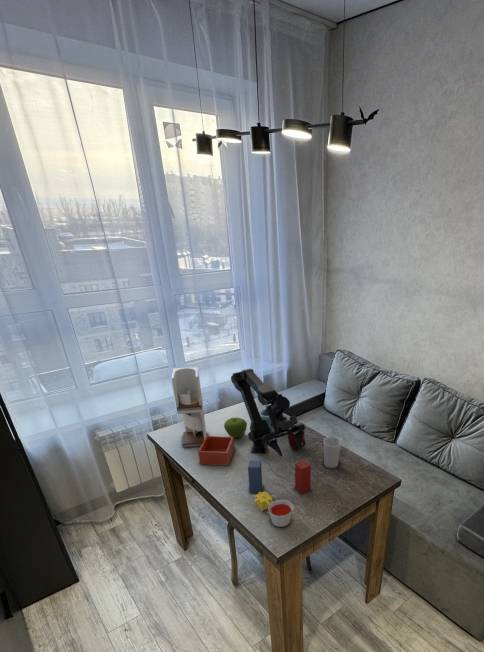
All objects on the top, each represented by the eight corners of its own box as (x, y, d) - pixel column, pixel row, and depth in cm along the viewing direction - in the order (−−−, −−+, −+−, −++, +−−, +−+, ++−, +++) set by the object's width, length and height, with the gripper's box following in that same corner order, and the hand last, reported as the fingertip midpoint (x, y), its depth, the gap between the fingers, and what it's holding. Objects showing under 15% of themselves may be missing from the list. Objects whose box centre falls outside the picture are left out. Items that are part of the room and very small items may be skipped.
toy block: (279, 508, 153) (278, 497, 150) (260, 515, 149) (259, 504, 146) (269, 496, 159) (269, 485, 156) (251, 503, 155) (250, 492, 152)
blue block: (251, 485, 164) (249, 460, 158) (262, 485, 164) (261, 461, 158) (249, 492, 160) (247, 467, 154) (260, 492, 160) (259, 467, 154)
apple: (250, 432, 201) (249, 415, 196) (242, 443, 192) (240, 425, 187) (230, 429, 203) (229, 412, 197) (221, 439, 194) (219, 422, 189)
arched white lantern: (184, 435, 196) (173, 368, 178) (206, 433, 198) (197, 367, 181) (183, 447, 186) (171, 378, 169) (206, 445, 189) (197, 376, 171)
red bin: (207, 447, 187) (206, 435, 184) (234, 448, 188) (233, 436, 184) (199, 464, 176) (198, 451, 172) (228, 465, 176) (227, 452, 173)
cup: (338, 470, 176) (339, 447, 170) (320, 467, 177) (321, 444, 171) (341, 460, 183) (342, 438, 177) (324, 457, 184) (325, 435, 178)
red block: (295, 488, 164) (295, 463, 158) (304, 484, 166) (304, 459, 160) (301, 494, 161) (301, 468, 154) (310, 490, 163) (310, 465, 157)
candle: (283, 532, 142) (283, 519, 139) (263, 522, 146) (263, 509, 143) (297, 518, 148) (298, 505, 145) (278, 509, 152) (278, 496, 149)
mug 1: (285, 436, 199) (285, 418, 194) (264, 440, 195) (263, 422, 190) (275, 422, 211) (274, 406, 205) (255, 426, 206) (254, 409, 201)
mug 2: (311, 449, 190) (312, 431, 185) (300, 455, 185) (300, 437, 180) (295, 441, 196) (295, 423, 190) (283, 447, 190) (283, 429, 185)
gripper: (263, 417, 152) (278, 454, 150) (303, 405, 162) (318, 440, 160) (254, 426, 161) (268, 461, 160) (293, 415, 171) (307, 448, 170)
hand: (291, 452), depth 162 cm, fingers open, 9 cm apart
